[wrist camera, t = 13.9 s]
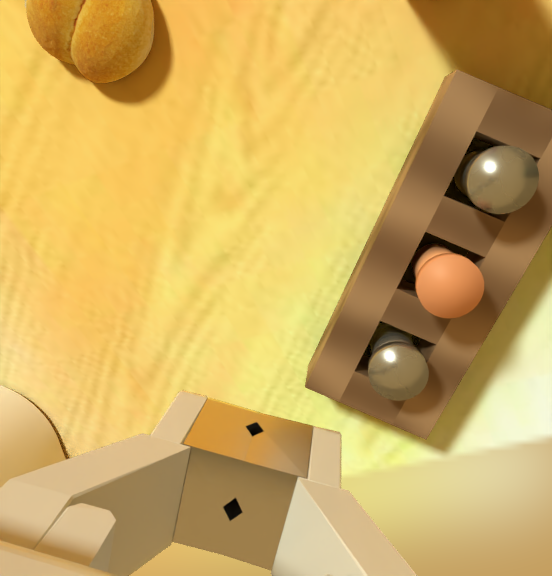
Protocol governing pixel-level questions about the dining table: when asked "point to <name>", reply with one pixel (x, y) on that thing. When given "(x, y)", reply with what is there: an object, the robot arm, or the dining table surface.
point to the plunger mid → (446, 281)
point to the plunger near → (498, 178)
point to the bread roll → (94, 34)
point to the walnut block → (446, 225)
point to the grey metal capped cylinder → (396, 364)
